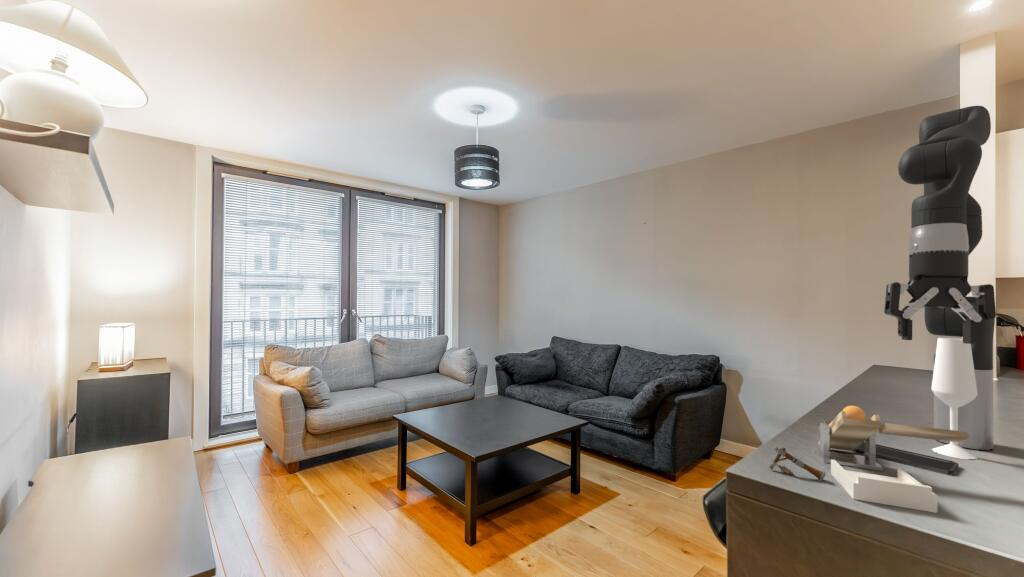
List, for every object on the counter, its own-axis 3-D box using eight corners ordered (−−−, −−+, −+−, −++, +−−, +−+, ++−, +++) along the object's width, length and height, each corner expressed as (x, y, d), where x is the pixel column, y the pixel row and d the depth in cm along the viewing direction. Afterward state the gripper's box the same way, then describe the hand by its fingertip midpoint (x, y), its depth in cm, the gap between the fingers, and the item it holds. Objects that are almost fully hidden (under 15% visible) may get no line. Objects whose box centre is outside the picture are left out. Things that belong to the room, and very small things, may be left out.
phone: (860, 440, 93) (959, 462, 81) (860, 445, 93) (959, 468, 81) (849, 447, 88) (952, 472, 76) (849, 453, 88) (952, 478, 76)
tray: (830, 473, 76) (830, 453, 76) (901, 484, 72) (901, 463, 72) (853, 499, 66) (853, 476, 66) (937, 513, 62) (937, 488, 62)
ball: (839, 421, 81) (839, 403, 81) (861, 424, 80) (861, 405, 80) (845, 425, 78) (845, 406, 78) (869, 428, 77) (868, 408, 77)
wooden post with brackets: (764, 462, 78) (776, 442, 77) (812, 491, 74) (826, 469, 73) (764, 465, 76) (776, 444, 75) (813, 494, 72) (826, 473, 71)
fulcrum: (814, 452, 86) (815, 420, 87) (869, 459, 83) (869, 426, 83) (823, 462, 81) (824, 427, 81) (882, 470, 77) (882, 434, 78)
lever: (818, 446, 90) (816, 427, 92) (924, 460, 83) (918, 439, 85) (843, 422, 76) (839, 401, 78) (970, 436, 70) (963, 413, 72)
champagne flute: (929, 445, 93) (929, 336, 94) (974, 453, 88) (973, 339, 89) (933, 453, 88) (933, 338, 88) (981, 462, 83) (980, 341, 84)
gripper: (977, 254, 77) (977, 344, 76) (879, 254, 82) (878, 337, 81) (1006, 248, 70) (1006, 346, 69) (897, 248, 75) (896, 339, 74)
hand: (937, 341), depth 75 cm, fingers open, 8 cm apart
